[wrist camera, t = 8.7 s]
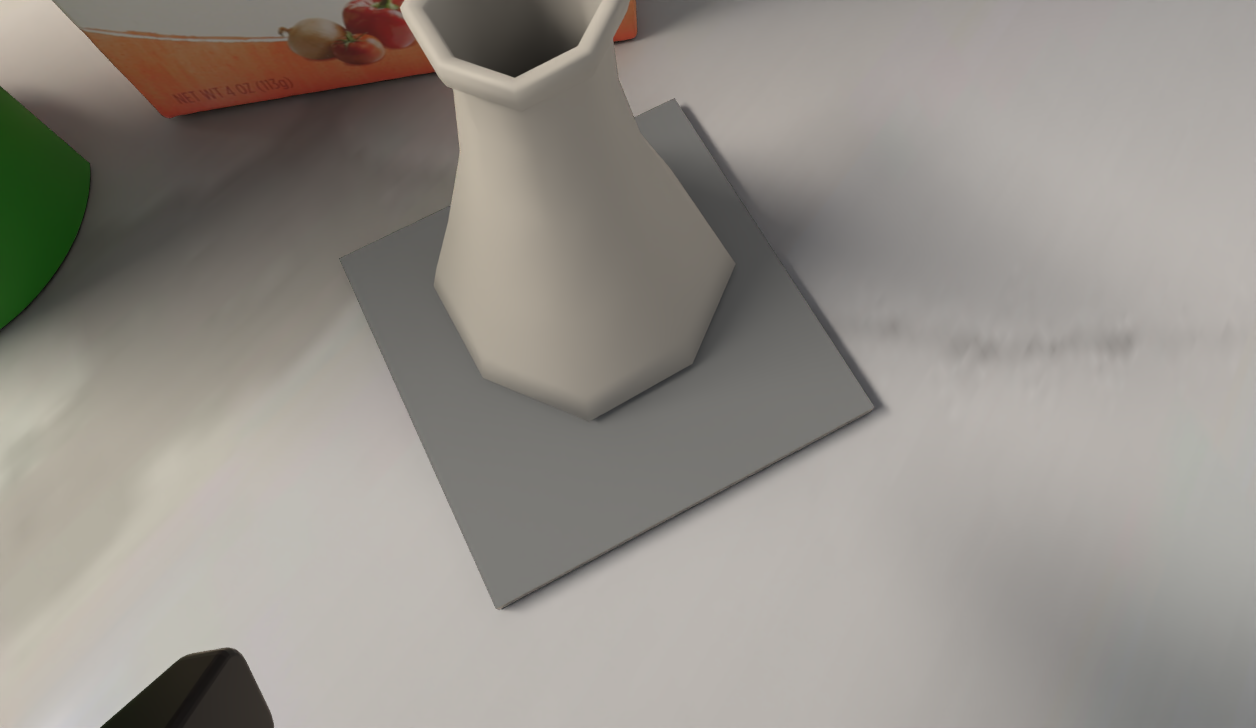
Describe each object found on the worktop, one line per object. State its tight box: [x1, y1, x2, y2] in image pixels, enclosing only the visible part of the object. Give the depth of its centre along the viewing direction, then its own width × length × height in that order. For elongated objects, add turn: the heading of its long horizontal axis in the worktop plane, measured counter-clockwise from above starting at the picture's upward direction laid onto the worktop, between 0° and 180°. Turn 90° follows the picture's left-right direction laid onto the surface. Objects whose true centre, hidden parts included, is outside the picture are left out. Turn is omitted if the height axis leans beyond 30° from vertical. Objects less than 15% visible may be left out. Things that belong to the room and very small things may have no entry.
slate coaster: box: [339, 98, 874, 610], centre depth 22 cm, size 10×10×1 cm
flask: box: [400, 0, 736, 422], centre depth 17 cm, size 7×7×10 cm
